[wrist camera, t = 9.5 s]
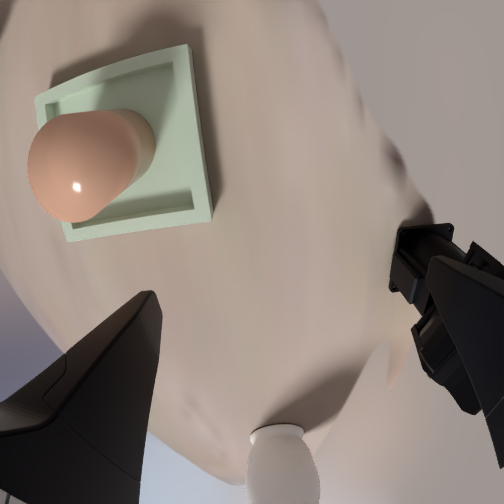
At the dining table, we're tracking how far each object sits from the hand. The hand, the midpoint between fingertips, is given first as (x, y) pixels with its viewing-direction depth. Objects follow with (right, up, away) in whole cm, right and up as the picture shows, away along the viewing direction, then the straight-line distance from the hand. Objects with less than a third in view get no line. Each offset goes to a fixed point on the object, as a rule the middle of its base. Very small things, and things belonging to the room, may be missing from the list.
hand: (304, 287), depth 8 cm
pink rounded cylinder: (-11, +8, +9) cm, 16 cm away
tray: (-11, +9, +10) cm, 17 cm away
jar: (+2, -27, +30) cm, 40 cm away
